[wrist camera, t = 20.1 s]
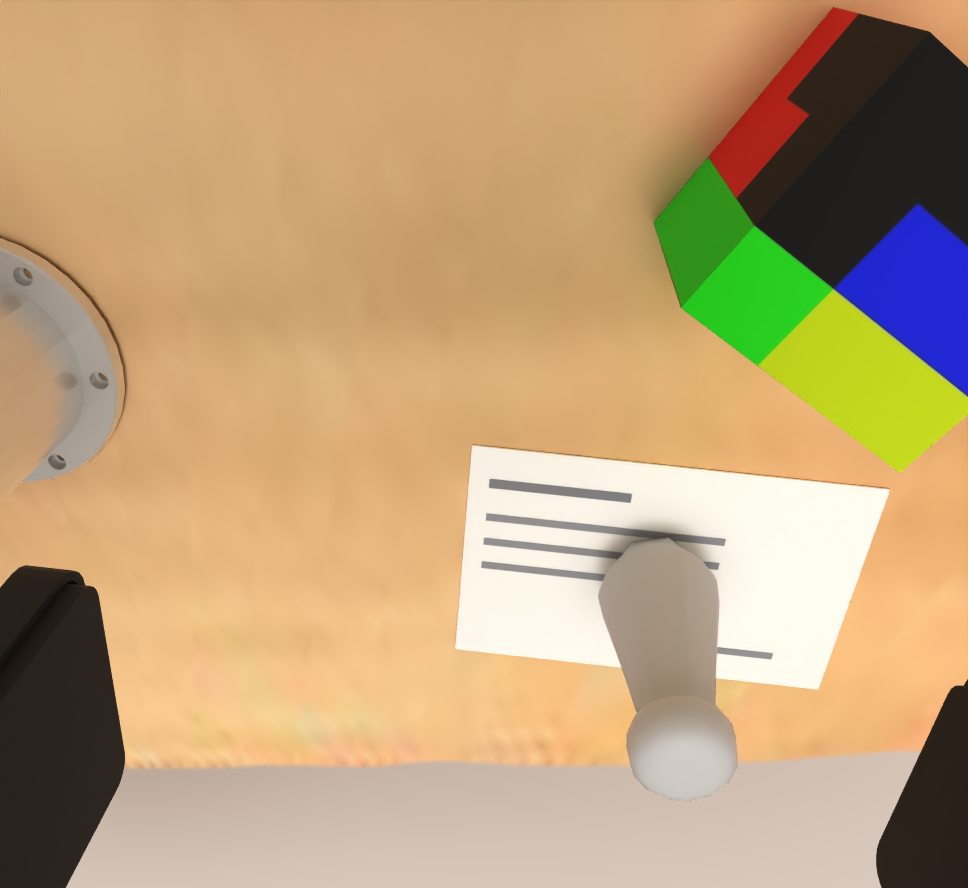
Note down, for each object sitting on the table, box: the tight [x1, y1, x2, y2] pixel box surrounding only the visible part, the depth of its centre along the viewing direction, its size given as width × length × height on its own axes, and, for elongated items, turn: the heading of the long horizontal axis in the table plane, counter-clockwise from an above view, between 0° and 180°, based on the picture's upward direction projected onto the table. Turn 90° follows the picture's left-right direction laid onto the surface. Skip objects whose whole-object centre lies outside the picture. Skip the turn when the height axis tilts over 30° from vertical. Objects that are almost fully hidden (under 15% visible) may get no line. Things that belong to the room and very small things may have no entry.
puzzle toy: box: [654, 7, 968, 473], centre depth 32 cm, size 10×10×10 cm
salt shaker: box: [598, 537, 737, 801], centre depth 40 cm, size 6×6×13 cm
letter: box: [455, 445, 890, 689], centre depth 46 cm, size 20×13×1 cm, turn 86°
